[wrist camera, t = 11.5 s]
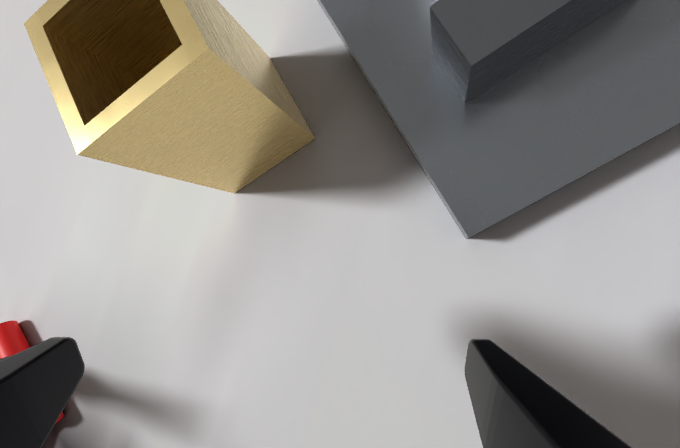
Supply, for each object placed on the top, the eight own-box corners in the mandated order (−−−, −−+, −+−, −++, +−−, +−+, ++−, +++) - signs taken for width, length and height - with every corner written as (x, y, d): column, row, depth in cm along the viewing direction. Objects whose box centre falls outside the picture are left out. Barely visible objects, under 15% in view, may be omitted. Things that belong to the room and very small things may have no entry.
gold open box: (315, 138, 17) (128, -20, 7) (234, 193, 18) (-31, 127, 8) (254, 30, 18) (20, -239, 8) (182, 87, 19) (-105, -86, 9)
